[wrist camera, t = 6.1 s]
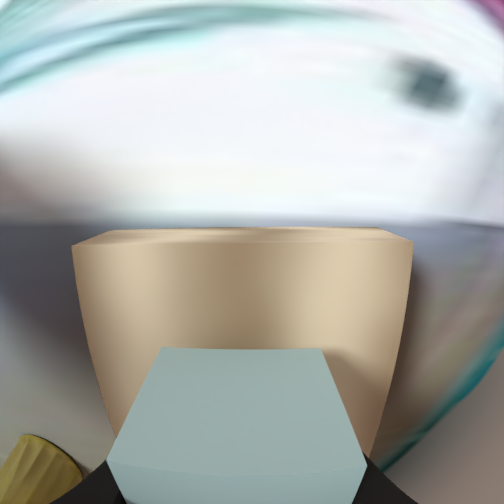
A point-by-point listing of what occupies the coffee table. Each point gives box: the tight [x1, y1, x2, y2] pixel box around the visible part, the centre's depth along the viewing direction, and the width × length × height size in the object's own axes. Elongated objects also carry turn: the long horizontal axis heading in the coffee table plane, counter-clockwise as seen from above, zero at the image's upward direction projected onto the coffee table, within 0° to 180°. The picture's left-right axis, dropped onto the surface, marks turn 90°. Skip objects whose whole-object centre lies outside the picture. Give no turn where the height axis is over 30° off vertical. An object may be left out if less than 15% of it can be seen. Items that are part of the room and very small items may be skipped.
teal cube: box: [106, 347, 367, 504], centre depth 8 cm, size 5×5×5 cm
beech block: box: [71, 227, 414, 458], centre depth 13 cm, size 12×12×4 cm
